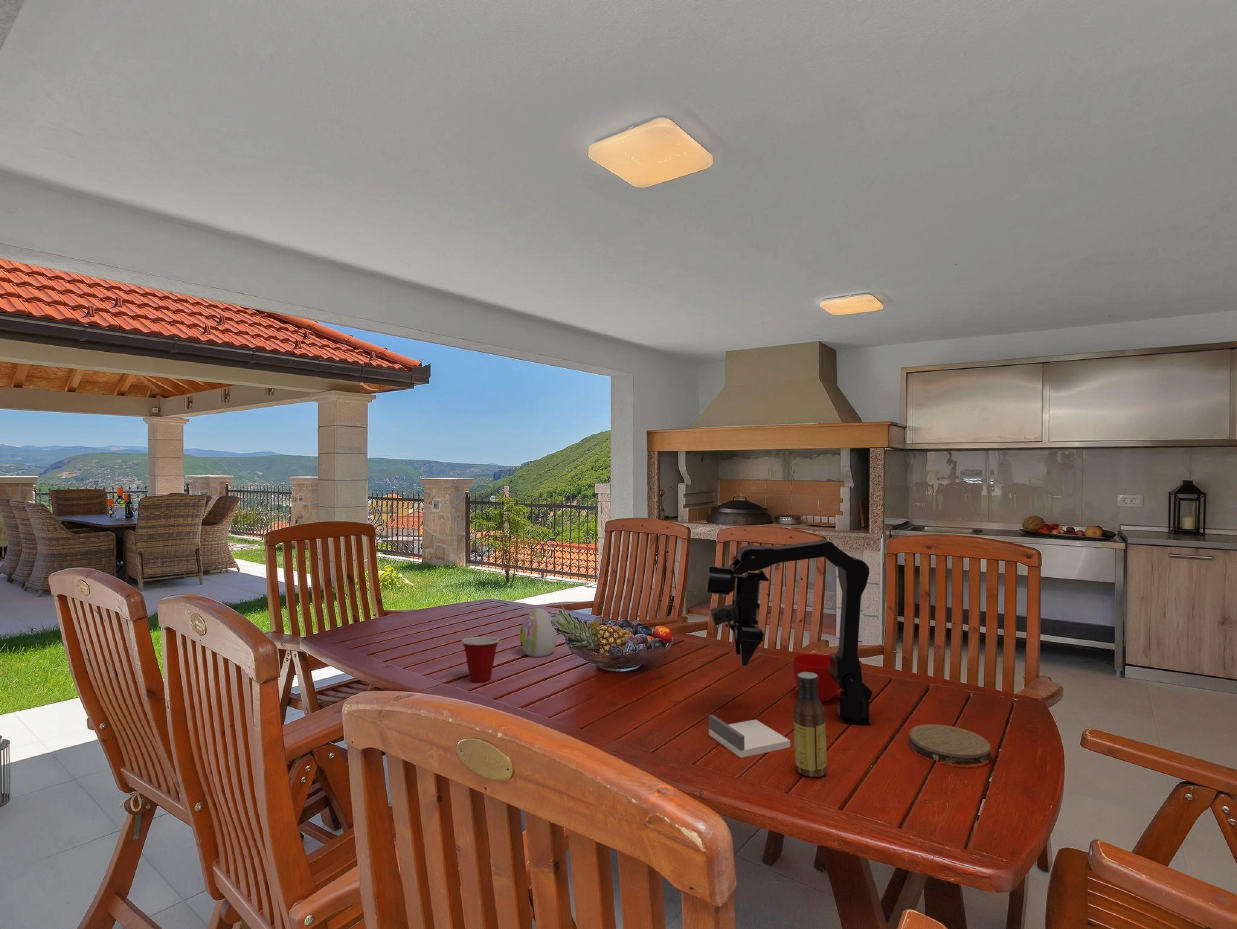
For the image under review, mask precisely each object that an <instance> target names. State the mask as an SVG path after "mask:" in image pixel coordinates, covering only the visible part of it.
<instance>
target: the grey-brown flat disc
mask: <svg viewBox="0 0 1237 929" xmlns="http://www.w3.org/2000/svg"><path fill="white" fill-rule="evenodd" d="M908 732H909V733H908V746H909V745H910V746H911V748H910V750H911V749H913V750H914V751H915V752H917V753H918V754H920V755H922V756H924V757H927V758H929V759H932V760H936V761H938V762H945V763H952V764H959V765H960V764H961V765H962V764H963V765H970V764H979V763H983V762H986V761H987V760H989V759H990V760H991V744H990V742H989V741H988V740H987V739H986V738H984V737H983V736H982V735H980V734H977V733H975V732H973V731H970V730H967V729H964V728H961V727H957V726H951V725H945V724H935V723H934V724H932V723H931V724H921V725H917V726H914V727H912V728H911V729H910V730H909V731H908ZM910 746H909V747H910Z"/></svg>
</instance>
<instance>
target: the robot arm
mask: <svg viewBox="0 0 1237 929" xmlns="http://www.w3.org/2000/svg"><path fill="white" fill-rule="evenodd" d="M817 558H825V560H827V561H828V562H829V563H831V564H832V565H833V566H835V567H836V570H837V576H838V583H839V586H840V589H841V590H840V591H841V603H840V604H841V606H840V621H839V638H838V649H837V651H836V652H835V653H836V654H835V655H833V654H829V656H830V667H829V669H828V670H829V671H830V672H831V676H832V678H833V679H834V680H835V682H836V683H837V684H838V685H839V687H840V688H839V689H841V690H840V696H839V697H838V698H837V714H838V716H839V718H840V719H841V721H842V723H843V722H844V724H853V723H854V724H855V725H858V724H859V725H868V726H869V725H871V724H872V722H871V719H870V701H871V698H872V695H873V690H871V688H869V687H868V686H867V685H866V684H865V683H864V682H863V681H864V680H863V672H862V671H863V670H862V666H861V662H860V659H859V654H858V653H859V652H858V648H859V635H860V634H859V633H860V623H861V622H860V618H861V607H862V606H861V602H862V595H863V593H864V591H865V589H866V588H867V584H868V582H869V581H868V580H869V577H870V567H869V565H868V564H867V563H866V562H865V561H864V560H862V559H860V558H856V557H855V556H852V555H849V554H847V553H846V552H845V551H843V550H842V549H840V548H839V547H837V546H836V545H835V544H834V542H832V541H829V540H827V539H819V540H816V541H814V540H813V541H807V542H799V543H793V544H786V545H785V544H784V545H783V544H782V545H777V546H767V545H766V546H765V545H755V544H753V545H752V544H746V545H743V546H742V547H740V549H739V550H738V552H737V557H736V558H735V559H734V560H733V561H732V562H731V563H730V565H728V567H722V566H716V565H711V564H709V565H708V570H707V574H706V577H705V586H704V587H705V594H713V595H722V596H729V595H730V593H733V592H734V591H735V594H734V597H733V599H732V600H731V603H730V604H726V605H722V606H721V605H720V606H718V607H713V608H711V609H710V614H711V615H710V616H711V618H712V623H713V624H714V626H719V625H722V624H725V623H726V624H727V626H728V628H730V629H731V631H732V635H733V641H734V650H735V655H737V656H738V655H740V660H741V666H743V667H746V666H748V664H749V662H750V660H751V659H752V657H753V656H754V654H755V653H756V651H757V649H758V647H759V646H760V645H761V644H762V642H764V638H765V637H764V635H765V632H764V631H763V630H762V629H761V628H760V627H759V620H758V609H760V602H759V599H760V598H759V597H760V586H761V582H762V581H763V582H769V581H770V579H769V578H768V577H767V575H766V574H765V572H764V570H763V569H767V568H770V567H772V566H774V565H777V564H779V563H788V562H796V561H803V560H810V559H817ZM854 724H853V725H854Z"/></svg>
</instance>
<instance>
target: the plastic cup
mask: <svg viewBox="0 0 1237 929" xmlns="http://www.w3.org/2000/svg"><path fill="white" fill-rule="evenodd" d="M499 641H500V638H498V637H495V636H494V637H493V636H472V637H466V638H463V639H461V643H462V645H463V648H464V652H465V658H466V664H467V669H468V675H469V679H470V682H472V683H475V684H476V683H477V684H479V683H487V682H489V681H491V679H492V672H493V668H494V663H495V658H496V657H495V656H496V651H497V646H498V643H499Z"/></svg>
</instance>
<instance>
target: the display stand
mask: <svg viewBox="0 0 1237 929" xmlns="http://www.w3.org/2000/svg"><path fill="white" fill-rule="evenodd" d="M708 735H709V737H711V738H712V739H714V740H715V741H717V743H720V744H721V745H722V746H724V747H725V748H726V749H728V750H729V751H730V752H732V753H733V754H735V756H737V757H739V758H745V757H751V756H757V755H761V754H765V753H770V752H774V751H779V750H784V749H785V750H786V749H788V748H791V740H790V739H788V738H787V737H785V736H784V735H782V734H780V733H779V732H777V731H776V730H773V729H772V728H770V727H768V726H767V725H765V724H764V723H762V722H761V721H759V720H757V719H751V720H746V721H741V722H740V721H739V722H736V723H729V724H728V723H725V722H724V721H722V719H720V718H718V717H717V716H715V715H713V714H709V715H708Z"/></svg>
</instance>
